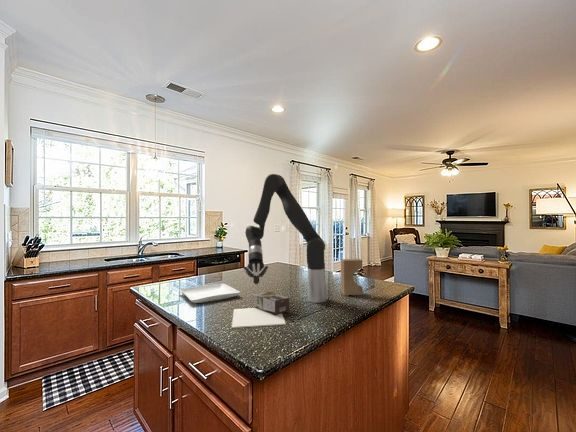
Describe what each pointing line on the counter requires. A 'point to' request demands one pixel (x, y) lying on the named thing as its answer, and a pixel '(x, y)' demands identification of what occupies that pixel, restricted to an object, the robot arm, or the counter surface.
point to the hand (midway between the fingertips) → (256, 283)
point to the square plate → (209, 293)
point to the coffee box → (271, 303)
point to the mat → (255, 318)
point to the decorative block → (350, 277)
